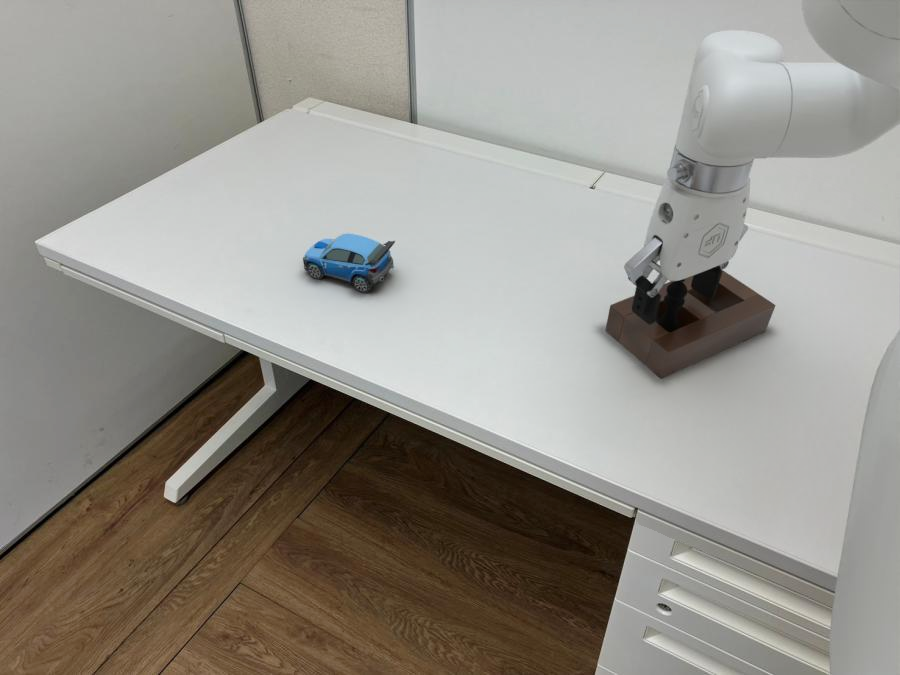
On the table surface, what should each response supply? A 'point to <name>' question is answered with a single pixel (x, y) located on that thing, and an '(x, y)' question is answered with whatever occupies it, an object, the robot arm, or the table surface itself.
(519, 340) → the table surface
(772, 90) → the robot arm
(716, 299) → the socket base
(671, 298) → the chess piece
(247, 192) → the table surface
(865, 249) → the table surface
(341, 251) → the toy car
